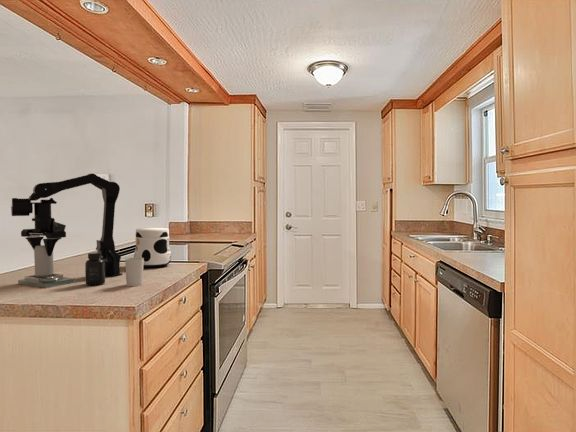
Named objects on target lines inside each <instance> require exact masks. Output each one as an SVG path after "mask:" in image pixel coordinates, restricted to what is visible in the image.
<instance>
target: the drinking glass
mask: <svg viewBox="0 0 576 432" xmlns="http://www.w3.org/2000/svg"><path fill="white" fill-rule="evenodd" d="M124 260H125V261H124V264H125V280H126V287H127V286H128V287H139V285H140V286H143V283H144V267H143V263H144V258H140V257H134V256H133V257H127V258H125V259H124Z"/></svg>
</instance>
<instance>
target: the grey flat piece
mask: <svg viewBox="0 0 576 432" xmlns="http://www.w3.org/2000/svg"><path fill="white" fill-rule="evenodd" d="M75 282H76V277H75V278H74V277H67V276H64V274H61V273H55V272H54V274H53V275H52V276H49V277H37V276H35V274H30V275H26V276H24V278H23V279H18V280H17V284H18V285H22V286H23V285H24V286H29V287H36V288H44V289H49V288H53V287H57V286H63V285H68V284H69V285H70V284H72V283H75Z"/></svg>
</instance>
